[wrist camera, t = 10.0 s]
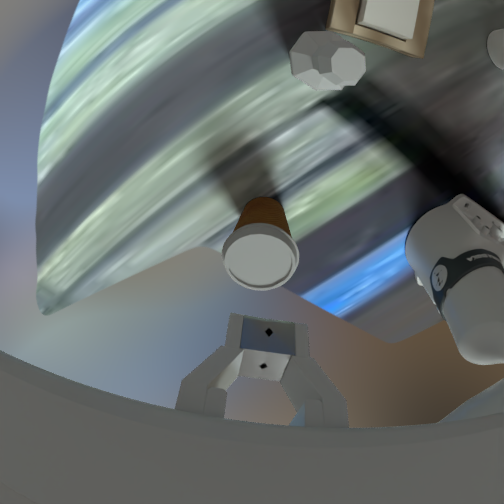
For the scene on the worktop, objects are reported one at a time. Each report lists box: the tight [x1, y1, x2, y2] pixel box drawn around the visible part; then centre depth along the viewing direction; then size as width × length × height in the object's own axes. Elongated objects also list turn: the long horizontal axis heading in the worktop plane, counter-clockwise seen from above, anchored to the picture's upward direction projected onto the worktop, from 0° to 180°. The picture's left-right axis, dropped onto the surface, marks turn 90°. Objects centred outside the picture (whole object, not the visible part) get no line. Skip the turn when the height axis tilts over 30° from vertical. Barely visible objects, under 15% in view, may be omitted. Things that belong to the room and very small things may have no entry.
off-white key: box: [355, 0, 420, 40], centre depth 25 cm, size 6×6×4 cm
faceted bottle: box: [289, 31, 366, 90], centre depth 25 cm, size 6×6×22 cm
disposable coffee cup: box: [222, 197, 299, 290], centre depth 43 cm, size 10×10×12 cm
